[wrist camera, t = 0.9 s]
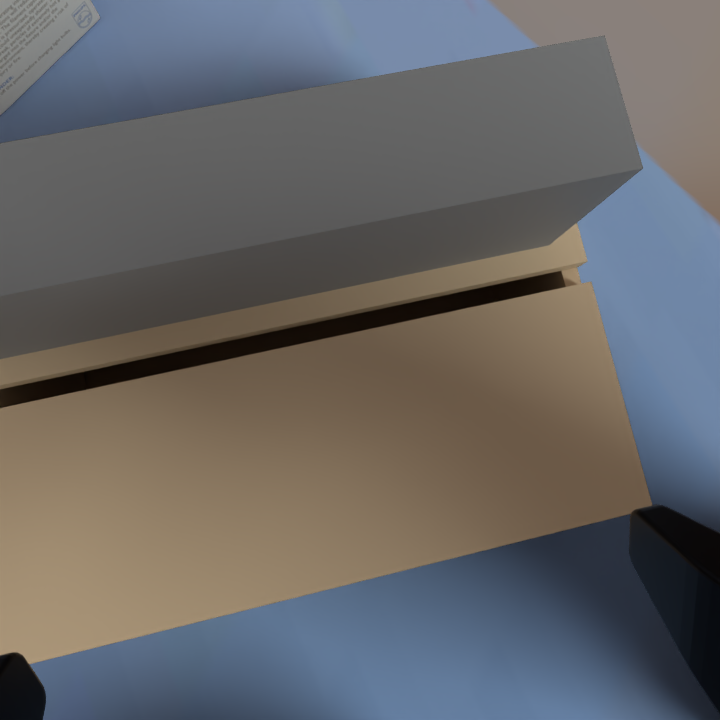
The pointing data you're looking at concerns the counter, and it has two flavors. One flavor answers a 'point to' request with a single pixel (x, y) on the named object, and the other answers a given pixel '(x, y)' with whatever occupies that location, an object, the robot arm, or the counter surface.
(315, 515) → the carton
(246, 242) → the grey stone
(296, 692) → the counter surface
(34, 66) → the light bulb box
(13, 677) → the robot arm
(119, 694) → the counter surface
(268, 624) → the counter surface
